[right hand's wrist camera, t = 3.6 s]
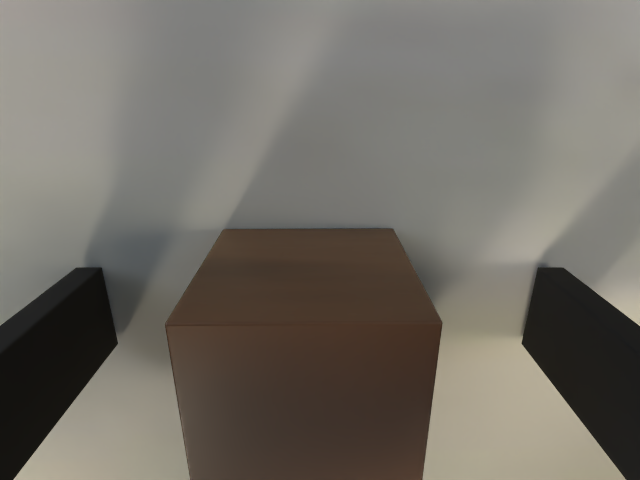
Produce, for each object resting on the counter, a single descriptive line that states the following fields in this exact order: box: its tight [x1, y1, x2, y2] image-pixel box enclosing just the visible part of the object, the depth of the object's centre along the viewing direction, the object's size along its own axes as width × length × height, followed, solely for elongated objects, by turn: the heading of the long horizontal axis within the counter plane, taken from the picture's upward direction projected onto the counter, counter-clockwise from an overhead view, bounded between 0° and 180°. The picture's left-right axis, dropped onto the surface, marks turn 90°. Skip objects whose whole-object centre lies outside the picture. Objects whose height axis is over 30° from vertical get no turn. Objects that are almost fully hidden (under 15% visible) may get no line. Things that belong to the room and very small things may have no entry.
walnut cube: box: [165, 229, 442, 480], centre depth 10 cm, size 5×5×5 cm
